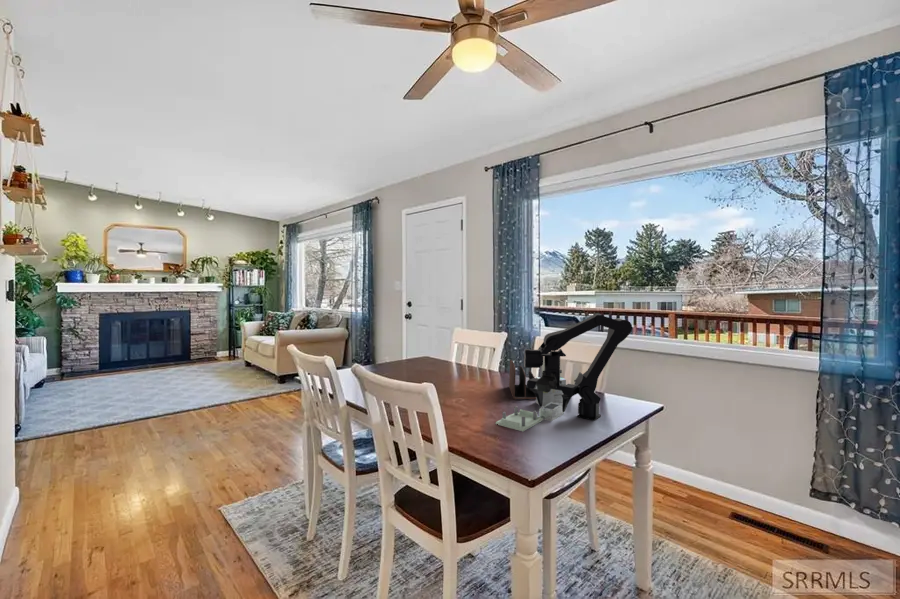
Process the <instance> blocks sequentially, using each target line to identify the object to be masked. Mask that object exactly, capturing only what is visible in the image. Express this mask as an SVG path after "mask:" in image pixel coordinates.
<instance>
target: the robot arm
mask: <svg viewBox="0 0 900 599" xmlns="http://www.w3.org/2000/svg"><path fill="white" fill-rule="evenodd" d="M598 327H605V328H608V330H607V334H606V339H605V340H604V342H603V344H602V345H601V347H600V349H599V350H598V352H597V353H596V355H595V357H594V359H593V361H592V362H591V364H590V366H589V367H588V368H587V370H586V371H585V372H583V373H581V372H579V373H578V375H577V377H576V378H575V379H574V380H573V381H574V384H571V383H566V385H565V386H562V385H560V384H562V381H560V377H561V374H562V373H563V370H562V369H561V357H567V354H566V353H564V351H563V350H562V347H564V346H565V345H566V344H567V343H569V341H571V340H573V339H575V338H577V337H579V336H581V335H583V334H585V333H587V332H589V331H591V330H594V329H595V328H598ZM632 331H633V325H632V323H631V322H630V321H629V320H626V319H624V318H619V317H617V318H613V317H612V318H611V317H608V316H605V315H604V314H601V313H594V314H593V315H592V316H589V317H588V318H586V319H583V320H582V321H579V322H577V323H576V324H573V325H571V326H569V327H567V328H565V329H561V330H555V331H553V332H550V333H547V334H546V335H544V336H543V342H542V343H541V345H540V346H539V347H538V349H530V348H529V349H528V348H525V349H524V353H523V354H524V356H523V367H524V368H526V369H527V368H528V369H535V368H536V369H540V368H541V367H542V366H543V369H544V370H542V374H541V377H540V376H539V377H540V378H539V379H538V378H536V377H534V378H532V379H530V380H529V379H528V380H526V385H527V388H530V390H531V391H533V392H534V393H535V395H536V398H537V400H538V403H539V405H538V406H539V408H541V407H542V404H543V392H546V393H548V392H550V390H551V389H555V390H560V391H562V393H563V395H562V398H563V404H562V411H563V412H564V413H565V412H566V410H567V407H568V405H569V402H570V401H571V399H572V397H574V396H576V395H577V394H578V395H579V397H580V399H579V402H578V404H577V417H578V418H582V419H586V420H591V421H596V420H597V419H598V418H601V416H602V415H601V414H600V401H601V397H600V396H599V395H598V394H597V393H596V392H595V391H596V389H597V385H598V379H599V377H600V376H601V374H602V372H603V371H604V368H605V367H606V366H607V364H608V362H609V360H610V359H611V357H612V355H613V354H614V352H615V350H616V349H617V347H618V346H619V344H620V343H622V342H623V341H625V340H626V339H627V338H628V336H629V335H630V334H631V332H632ZM524 368H523V369H524Z"/></svg>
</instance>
